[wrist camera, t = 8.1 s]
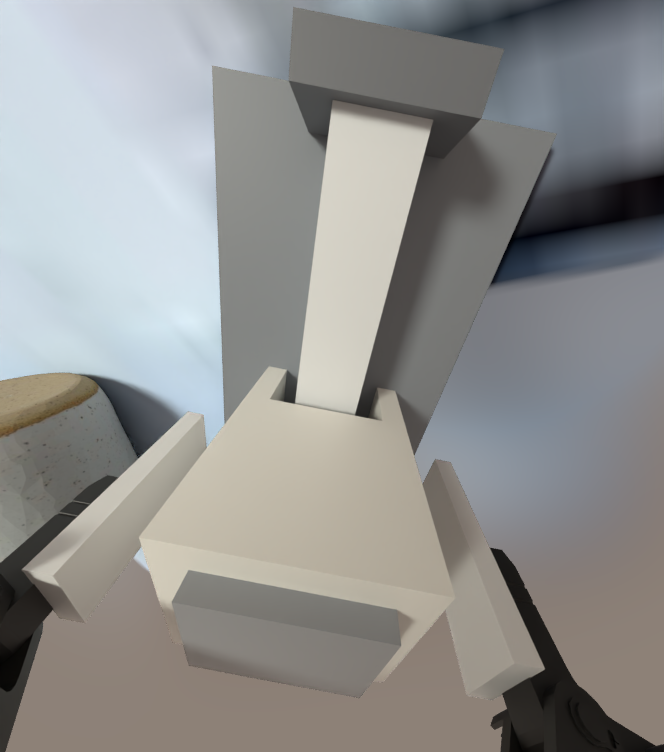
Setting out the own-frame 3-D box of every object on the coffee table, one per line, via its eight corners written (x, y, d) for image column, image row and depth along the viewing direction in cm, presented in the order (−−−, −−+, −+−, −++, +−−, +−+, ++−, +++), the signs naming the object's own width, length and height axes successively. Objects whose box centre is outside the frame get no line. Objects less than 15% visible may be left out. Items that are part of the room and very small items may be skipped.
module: (268, 366, 13) (114, 569, 5) (395, 390, 13) (466, 636, 5) (263, 450, 16) (160, 672, 8) (367, 470, 16) (382, 715, 8)
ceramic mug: (127, 364, 15) (-76, 462, 8) (171, 465, 18) (59, 591, 12) (-22, 363, 16) (-313, 446, 9) (47, 458, 19) (-122, 569, 13)
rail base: (219, 75, 9) (145, -23, 6) (546, 140, 9) (650, 78, 6) (230, 503, 20) (207, 550, 17) (377, 531, 20) (381, 583, 17)
